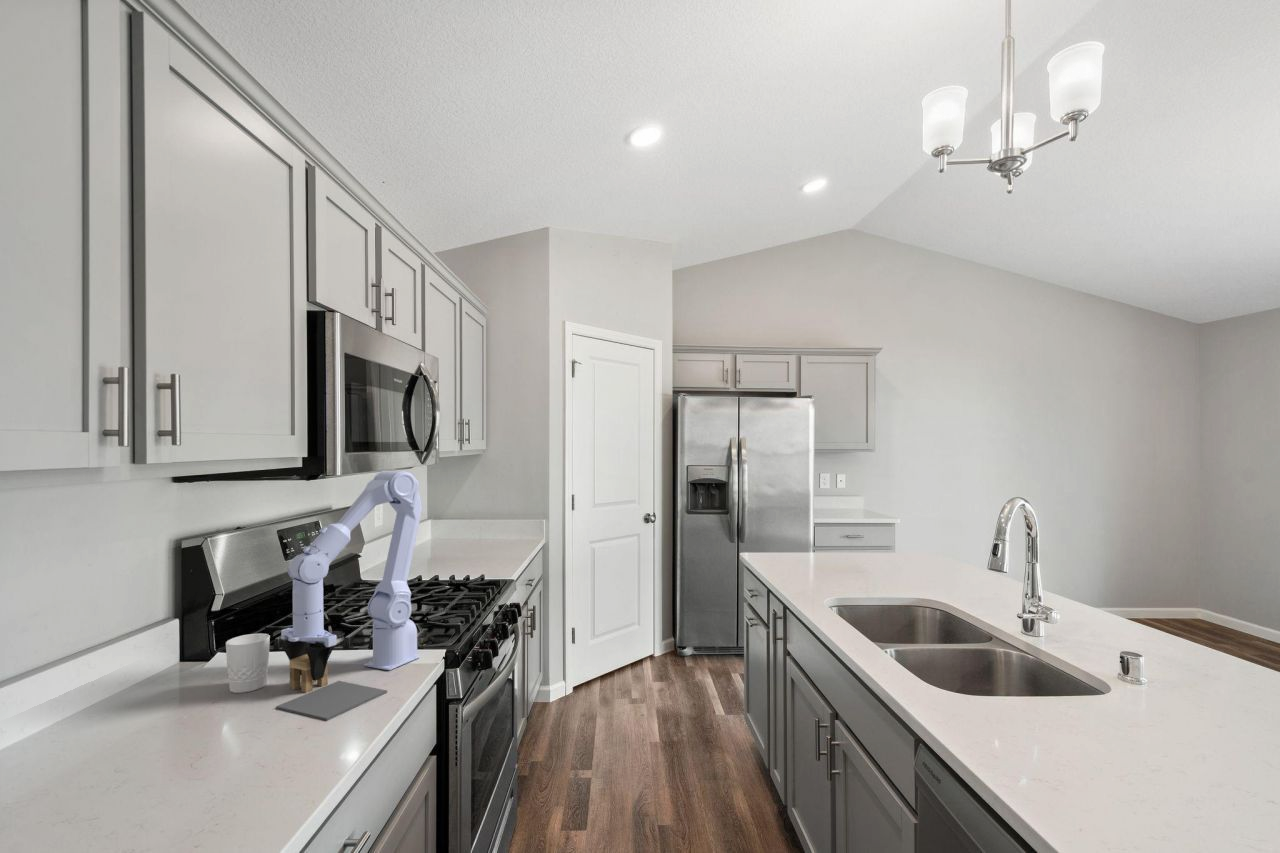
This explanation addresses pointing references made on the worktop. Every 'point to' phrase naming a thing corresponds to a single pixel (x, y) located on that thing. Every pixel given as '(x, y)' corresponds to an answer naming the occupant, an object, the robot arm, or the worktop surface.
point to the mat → (331, 700)
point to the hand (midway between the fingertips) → (308, 676)
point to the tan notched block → (304, 674)
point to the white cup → (247, 662)
